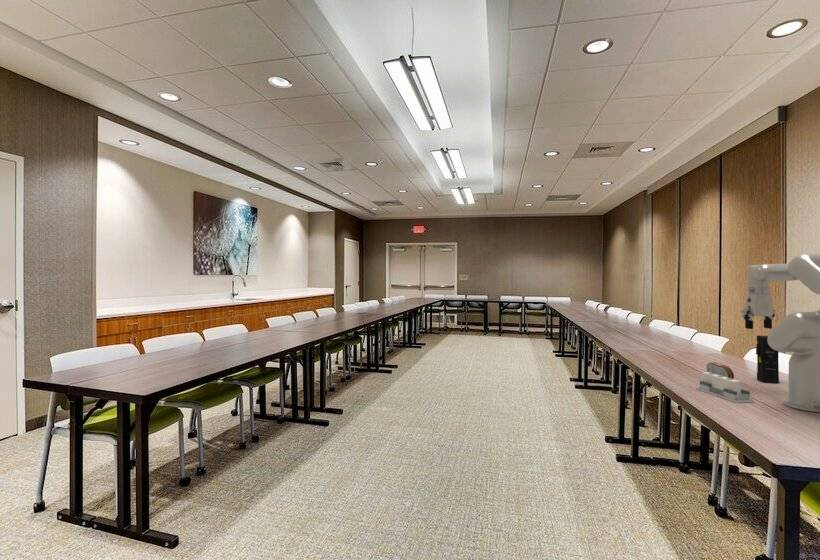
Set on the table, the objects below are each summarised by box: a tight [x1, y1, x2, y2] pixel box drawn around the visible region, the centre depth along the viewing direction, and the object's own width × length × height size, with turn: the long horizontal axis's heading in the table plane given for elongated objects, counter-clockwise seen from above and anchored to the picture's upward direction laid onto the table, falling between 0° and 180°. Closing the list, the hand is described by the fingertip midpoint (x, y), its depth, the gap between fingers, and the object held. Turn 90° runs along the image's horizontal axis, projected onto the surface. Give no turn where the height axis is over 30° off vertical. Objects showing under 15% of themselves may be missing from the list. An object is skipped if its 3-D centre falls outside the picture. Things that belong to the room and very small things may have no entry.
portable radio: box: [755, 335, 780, 384], centre depth 194 cm, size 8×6×25 cm
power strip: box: [700, 371, 742, 393], centre depth 173 cm, size 16×4×5 cm, turn 6°
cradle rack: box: [695, 380, 755, 404], centre depth 172 cm, size 20×8×4 cm, turn 7°
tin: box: [706, 362, 735, 379], centre depth 196 cm, size 15×3×8 cm, turn 179°
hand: (758, 328), depth 181 cm, fingers open, 9 cm apart
